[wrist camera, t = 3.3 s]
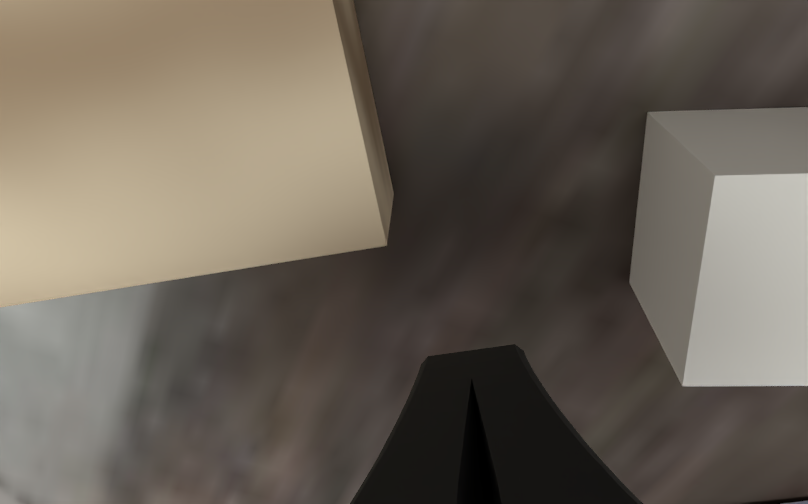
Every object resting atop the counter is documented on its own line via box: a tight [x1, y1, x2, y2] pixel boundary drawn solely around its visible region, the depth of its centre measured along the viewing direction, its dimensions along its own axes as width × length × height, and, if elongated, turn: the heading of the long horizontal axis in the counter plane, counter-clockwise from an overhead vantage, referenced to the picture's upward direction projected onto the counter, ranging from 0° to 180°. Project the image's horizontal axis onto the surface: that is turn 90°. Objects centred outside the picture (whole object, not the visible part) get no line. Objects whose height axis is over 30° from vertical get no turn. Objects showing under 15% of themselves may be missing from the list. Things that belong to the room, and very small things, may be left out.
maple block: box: [0, 0, 394, 307], centre depth 14 cm, size 9×9×3 cm
